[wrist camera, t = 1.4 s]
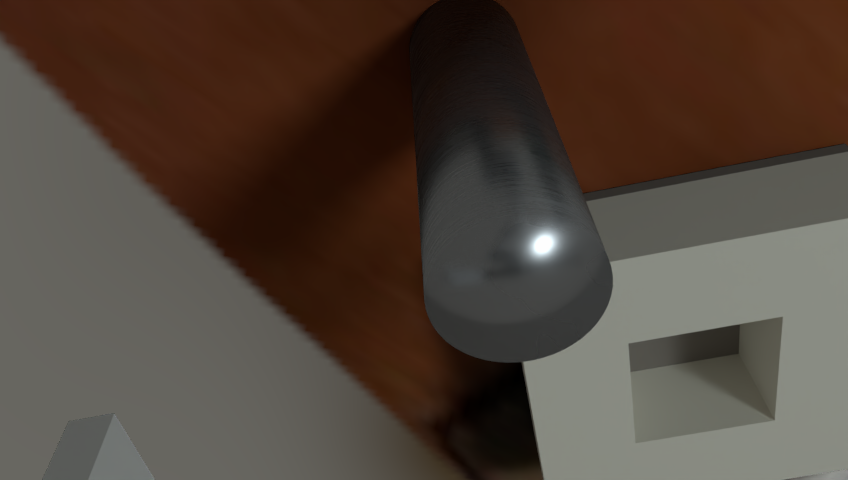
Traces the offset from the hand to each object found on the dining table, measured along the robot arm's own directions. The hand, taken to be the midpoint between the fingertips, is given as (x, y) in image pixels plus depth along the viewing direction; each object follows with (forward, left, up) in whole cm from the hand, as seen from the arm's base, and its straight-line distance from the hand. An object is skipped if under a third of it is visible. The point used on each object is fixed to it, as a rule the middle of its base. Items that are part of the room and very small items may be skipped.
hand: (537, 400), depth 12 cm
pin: (0, 0, -14) cm, 14 cm away
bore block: (+12, +6, -14) cm, 19 cm away
